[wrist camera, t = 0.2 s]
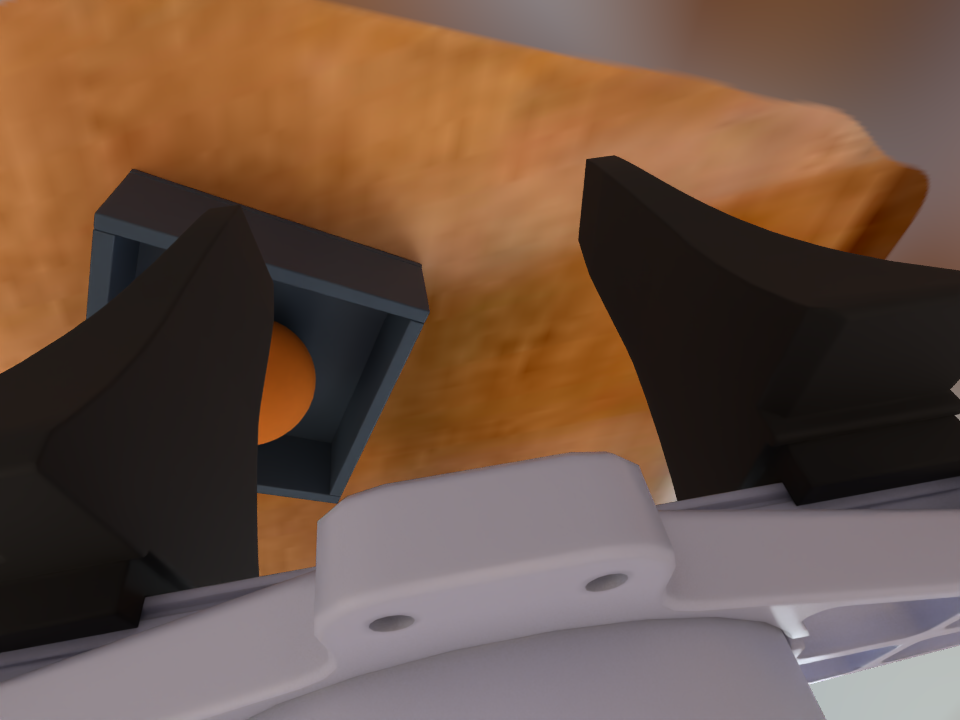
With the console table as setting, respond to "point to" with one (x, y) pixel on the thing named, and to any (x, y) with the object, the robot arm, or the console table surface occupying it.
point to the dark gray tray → (288, 319)
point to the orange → (285, 385)
